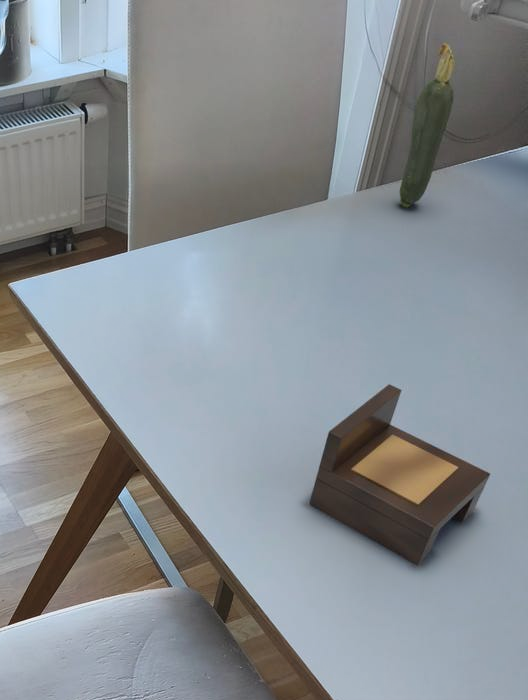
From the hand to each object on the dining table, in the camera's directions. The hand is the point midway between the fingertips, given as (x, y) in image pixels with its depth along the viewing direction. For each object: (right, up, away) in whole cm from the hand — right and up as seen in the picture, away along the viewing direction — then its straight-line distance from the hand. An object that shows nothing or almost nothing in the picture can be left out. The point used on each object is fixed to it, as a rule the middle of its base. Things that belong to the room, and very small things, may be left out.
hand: (506, 21), depth 113 cm
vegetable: (-9, -19, +11) cm, 23 cm away
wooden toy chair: (-26, -67, -27) cm, 76 cm away
